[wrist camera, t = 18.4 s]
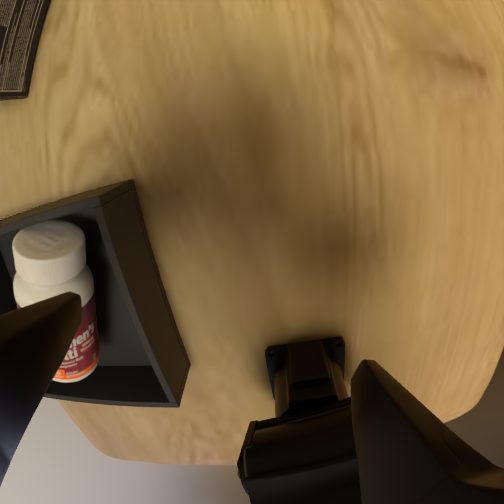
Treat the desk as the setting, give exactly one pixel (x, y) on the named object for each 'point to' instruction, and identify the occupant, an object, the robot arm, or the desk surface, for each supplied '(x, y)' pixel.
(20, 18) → the small box
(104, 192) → the bin
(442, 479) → the robot arm
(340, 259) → the desk surface
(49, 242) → the pill bottle
